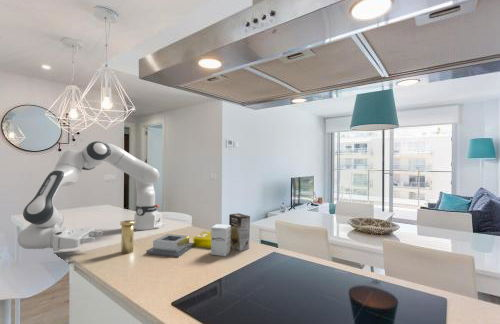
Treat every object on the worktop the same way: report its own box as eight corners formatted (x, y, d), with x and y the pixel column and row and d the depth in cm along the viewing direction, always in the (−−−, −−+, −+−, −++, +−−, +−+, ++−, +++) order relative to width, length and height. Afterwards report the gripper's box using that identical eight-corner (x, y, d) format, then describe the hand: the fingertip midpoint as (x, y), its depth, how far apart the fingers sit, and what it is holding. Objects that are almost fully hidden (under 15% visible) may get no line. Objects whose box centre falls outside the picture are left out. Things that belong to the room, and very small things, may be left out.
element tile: (219, 249, 124) (219, 239, 124) (191, 246, 128) (191, 237, 129) (230, 241, 139) (230, 232, 139) (204, 238, 143) (205, 229, 143)
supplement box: (210, 255, 116) (210, 227, 116) (216, 249, 123) (216, 223, 123) (225, 256, 114) (226, 228, 114) (230, 251, 121) (231, 224, 121)
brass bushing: (126, 249, 122) (126, 219, 122) (137, 250, 120) (138, 220, 120) (116, 253, 116) (117, 222, 116) (128, 254, 114) (129, 223, 114)
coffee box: (228, 246, 128) (228, 214, 128) (238, 244, 132) (238, 212, 132) (239, 251, 121) (240, 217, 121) (250, 248, 126) (250, 215, 126)
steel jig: (165, 243, 131) (165, 232, 131) (194, 246, 128) (194, 235, 128) (146, 253, 116) (146, 241, 116) (178, 257, 112) (178, 244, 112)
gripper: (74, 238, 122) (105, 236, 125) (51, 252, 102) (89, 250, 105) (74, 224, 122) (106, 223, 125) (51, 236, 102) (90, 235, 106)
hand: (98, 236), depth 115 cm, fingers open, 8 cm apart
